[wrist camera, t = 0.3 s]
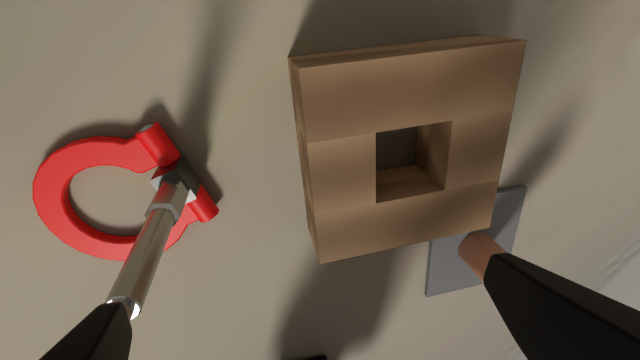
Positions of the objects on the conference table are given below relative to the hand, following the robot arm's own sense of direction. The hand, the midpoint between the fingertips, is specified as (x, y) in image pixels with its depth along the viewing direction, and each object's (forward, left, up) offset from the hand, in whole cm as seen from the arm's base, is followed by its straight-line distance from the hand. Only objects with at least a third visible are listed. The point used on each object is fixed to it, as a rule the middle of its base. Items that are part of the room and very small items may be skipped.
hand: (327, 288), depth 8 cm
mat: (-14, -15, -14) cm, 25 cm away
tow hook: (-4, +10, -15) cm, 18 cm away
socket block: (-3, -7, -14) cm, 16 cm away
